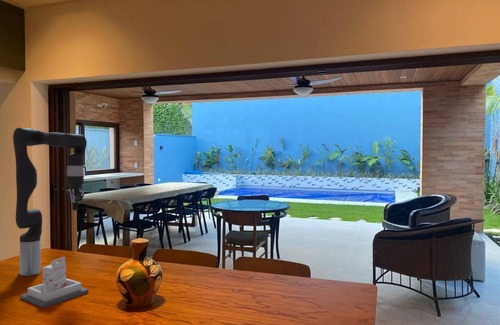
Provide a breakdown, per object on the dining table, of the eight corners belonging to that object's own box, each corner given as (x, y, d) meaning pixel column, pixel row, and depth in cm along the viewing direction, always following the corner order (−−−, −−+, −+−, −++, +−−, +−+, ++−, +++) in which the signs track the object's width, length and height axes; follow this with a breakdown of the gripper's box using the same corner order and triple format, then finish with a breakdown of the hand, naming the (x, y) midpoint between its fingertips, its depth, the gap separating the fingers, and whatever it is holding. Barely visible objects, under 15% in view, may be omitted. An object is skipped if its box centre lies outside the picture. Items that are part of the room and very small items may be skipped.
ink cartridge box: (57, 287, 168) (57, 255, 168) (66, 288, 167) (66, 255, 167) (42, 294, 160) (42, 260, 160) (52, 295, 159) (52, 261, 158)
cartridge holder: (20, 298, 160) (20, 288, 160) (65, 284, 177) (65, 275, 176) (43, 308, 150) (43, 297, 150) (88, 292, 167) (88, 282, 167)
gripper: (60, 174, 183) (60, 209, 183) (75, 175, 176) (75, 212, 176) (74, 174, 189) (74, 208, 190) (90, 175, 182) (90, 210, 182)
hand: (75, 210), depth 183 cm, fingers closed
